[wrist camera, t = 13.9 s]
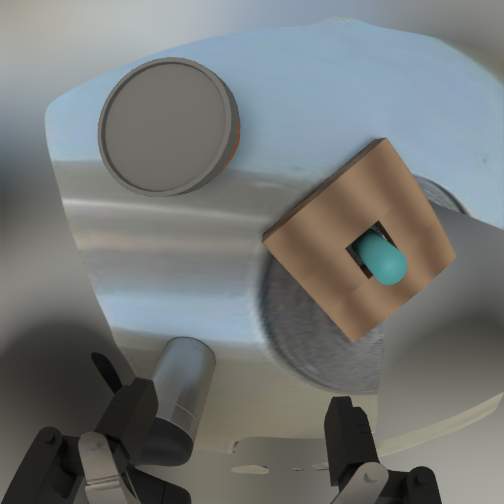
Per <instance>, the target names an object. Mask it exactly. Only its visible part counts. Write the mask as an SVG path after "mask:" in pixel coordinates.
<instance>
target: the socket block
mask: <svg viewBox="0 0 504 504" xmlns="http://www.w3.org/2000/svg"><path fill="white" fill-rule="evenodd" d="M375 223H376V225H377V226H378V227H379V229H380V230H381V232H382V233H383V235H384V236H385V238H386V239H387V241H388V242H389V243H390V244H392V245H393V246H394V247H395V248H396V249H398V250H399V251H400V252H401V253H402V254H403V255H404V256H405V257H406V260H407V270H406V273H405V275H404V277H403V278H402V279H401V280H400V281H399V282H397V283H395V284H393V285H384V284H381V283H380V282H379V281H378V280H377V279H376V277H375V276H374V275H373V274H372V272H371V271H370V270H369V268H368V267H367V266H366V265H365V264H364V265H363V266H362V267H361V268H360V267H359V266H358V265H357V263H356V262H355V261H354V259H353V258H352V257H351V255H350V254H349V253H348V252H347V250H346V249H345V248H346V247H347V246H348V245H350V244H351V243H352V242H353V241H355V240H356V239H357V238H358V237H359V236H360V235H362V234H363V233H364V232H365V231H366V230H368V229H369V228H370V227H371V226H372V225H373V224H375ZM262 244H263V245H264V246H265V247H266V248H267V249H268V250H269V251H270V252H271V253H272V254H273V255H274V256H275V258H276V259H277V260H278V261H279V262H280V263H281V264H282V265H283V266H284V267H285V268H286V269H287V271H288V272H289V273H290V274H291V275H292V276H293V277H294V278H295V279H296V280H297V281H298V283H299V284H300V285H301V286H302V287H303V288H304V289H305V290H306V291H307V292H308V293H309V295H310V296H311V297H312V298H313V299H314V300H315V301H316V302H317V303H318V304H319V306H320V307H321V308H322V309H323V310H324V311H325V312H326V313H327V314H328V315H329V317H330V318H331V319H332V320H333V321H334V322H335V323H336V324H337V325H338V327H339V328H340V329H341V330H342V331H343V332H344V333H345V334H346V335H347V337H348V338H349V339H350V340H351V341H352V342H354V341H356V340H357V339H359V338H360V337H362V336H363V335H364V334H366V333H367V332H369V331H370V330H371V329H373V328H374V327H375V326H377V325H378V324H379V323H381V322H382V321H383V320H385V319H386V318H387V317H388V316H390V315H391V314H392V313H394V312H395V311H396V310H397V309H399V308H400V307H401V306H402V305H404V304H405V303H406V302H407V301H408V300H410V299H411V298H412V297H413V296H414V295H416V294H417V293H418V292H419V291H420V290H421V289H423V288H424V287H425V286H426V285H427V284H428V283H429V282H430V281H431V280H433V279H434V278H435V277H436V276H437V275H438V274H439V273H440V272H441V271H442V270H444V269H445V268H446V267H447V266H448V265H449V264H450V263H451V262H452V261H453V260H454V259H455V258H456V255H455V253H454V250H453V248H452V246H451V244H450V242H449V240H448V238H447V236H446V234H445V232H444V230H443V228H442V226H441V224H440V222H439V220H438V218H437V216H436V214H435V213H434V211H433V209H432V207H431V205H430V204H429V202H428V200H427V198H426V197H425V195H424V193H423V192H422V190H421V188H420V187H419V185H418V183H417V182H416V180H415V179H414V177H413V175H412V174H411V172H410V171H409V169H408V168H407V166H406V165H405V163H404V162H403V160H402V159H401V157H400V156H399V154H398V153H397V152H396V150H395V149H394V147H393V146H392V145H391V143H390V142H389V140H388V139H387V138H380V139H375V140H374V141H372V142H371V143H370V144H369V145H368V146H366V147H365V148H364V149H363V150H362V151H361V152H359V153H358V154H357V155H356V156H355V157H353V158H352V159H351V160H350V161H349V162H348V163H346V164H345V165H344V166H343V167H342V168H340V169H339V170H338V171H337V172H336V173H335V174H333V175H332V176H331V177H330V178H329V179H327V180H326V181H325V182H324V183H323V184H322V185H320V186H319V187H318V188H317V189H316V190H314V191H313V192H312V193H311V194H310V195H309V196H307V197H306V198H305V199H304V200H303V201H302V202H300V203H299V204H298V205H297V206H296V207H294V208H293V209H292V210H291V211H290V212H289V213H287V214H286V215H285V216H284V217H283V218H282V219H280V220H279V221H278V222H277V223H276V224H275V225H273V226H272V227H271V228H270V229H269V230H268V231H266V232H265V233H264V234H263V240H262Z"/></svg>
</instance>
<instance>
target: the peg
mask: <svg viewBox="0 0 504 504" xmlns="http://www.w3.org/2000/svg"><path fill="white" fill-rule="evenodd" d="M351 245H352V248H353V250H354V251H355V252H356V253H357V255H358V256H359V257H360V258H361V260H362V261H363V262H364V263H365V265H366V266H367V267H368V268H369V270H370V271H371V272H372V274H373V275H374V276H375V277H376V279H377V280H378V281H379V282H380V283H381V284H384V285H393V284H395V283H397V282H399V281H400V280H401V279H402V278H403V277H404V275H405V273H406V270H407V260H406V257H405V256H404V255H403V254H402V253H401V252H400V251H399V250H398V249H396V248H395V247H394V246H393V245H392V244H390V243H389V242H388V241H386V240H385V239H384V238H383V237H382V236H380V235H379V234H378V233H377V232H375V231H374V230H373V229H371V228H369V229H368V230H366V231H365V232H364V233H363V234H362V235H360V236H359V237H358V238H357V239H356V240H355V241H353V242H352V243H351Z"/></svg>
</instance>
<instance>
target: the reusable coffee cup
mask: <svg viewBox="0 0 504 504" xmlns="http://www.w3.org/2000/svg"><path fill="white" fill-rule="evenodd" d="M239 138H240V118H239V112H238V107H237V104H236V101H235V99H234V96H233V94H232V92H231V91H230V89H229V88H228V86H227V85H226V84H225V82H224V81H222V80H221V79H220V78H219V77H218V76H217V75H216V74H214V73H213V72H212V71H210V70H209V69H208V68H206V67H204V66H203V65H201V64H199V63H197V62H195V61H192V60H188V59H184V58H175V57H167V58H160V59H155V60H152V61H149V62H147V63H144V64H142V65H140V66H138V67H137V68H135V69H133V70H132V71H130V72H129V73H128V74H127V75H125V76H124V77H123V78H122V79H121V80H120V81H119V82H118V83H117V85H116V86H115V87H114V88H113V89H112V91H111V93H110V94H109V96H108V97H107V99H106V101H105V103H104V106H103V108H102V111H101V114H100V119H99V124H98V145H99V151H100V154H101V157H102V160H103V163H104V164H105V166H106V168H107V170H108V172H109V173H110V174H111V175H112V177H113V178H114V179H115V180H116V181H117V182H118V183H119V184H121V185H122V186H123V187H125V188H126V189H128V190H130V191H132V192H134V193H137V194H140V195H144V196H149V197H166V196H175V195H180V194H186V193H189V192H191V191H194V190H196V189H199V188H200V187H202V186H203V185H205V184H207V183H208V182H210V181H211V180H212V179H213V178H214V177H215V176H217V175H218V174H219V173H220V172H221V171H222V170H223V169H224V168H225V167H226V165H227V164H228V162H229V161H230V160H231V158H232V157H233V155H234V153H235V151H236V149H237V146H238V142H239Z"/></svg>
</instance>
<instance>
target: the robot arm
mask: <svg viewBox="0 0 504 504" xmlns="http://www.w3.org/2000/svg"><path fill="white" fill-rule="evenodd" d="M215 364H216V362H215V357H214V354H213V353H212V351H211V350H210V349H209V348H208V347H207V346H206V345H204V344H203V343H201V342H199V341H198V340H195V339H192V338H186V337H180V338H175V339H173V340H171V341H170V342H169V343H168V344H167V345H166V347H165V349H164V351H163V353H162V355H161V356H160V358H159V360H158V362H157V364H156V366H155V368H154V370H153V372H152V374H151V375H150V377H149V379H145V378H141V377H136V378H135V379H134V381H133V382H132V384H131V386H128V385H124V386H123V387H122V388H121V389H119V390H118V391H117V392H116V394H115V396H114V397H113V400H112V401H111V402H110V404H109V407H108V408H107V409H106V411H105V413H104V415H103V417H102V418H101V420H100V422H99V423H98V425H97V427H96V429H95V430H94V431H93V432H90V433H86V434H84V435H83V436H82V437H72V436H65V435H62V434H61V432H60V431H59V430H58V429H56V428H54V427H45V428H43V429H41V430H40V431H39V433H38V434H37V436H36V438H35V439H34V441H33V443H32V444H31V446H30V448H29V450H28V452H27V453H26V455H25V457H24V459H23V461H22V463H21V464H20V466H19V468H18V470H17V472H16V474H15V476H14V478H13V480H12V482H11V484H10V486H9V488H8V490H7V492H6V494H5V496H4V498H3V500H2V503H1V504H73V502H74V499H75V496H76V494H77V491H78V489H79V486H80V484H81V481H82V479H83V476H85V477H86V480H87V485H86V486H85V490H86V494H87V498H88V504H191V497H190V494H189V493H188V491H187V490H185V489H183V488H182V487H179V486H177V485H174V484H171V483H169V482H166V481H163V480H161V479H159V478H156V477H154V476H152V475H149V474H147V473H144V472H142V471H140V470H137V469H136V468H135V466H139V465H159V466H179V465H182V464H185V463H186V462H187V461H188V460H189V459H190V456H191V453H192V450H193V446H194V442H195V438H196V435H197V431H198V427H199V423H200V420H201V416H202V412H203V408H204V405H205V401H206V397H207V394H208V390H209V386H210V383H211V379H212V376H213V372H214V368H215ZM324 430H325V438H326V446H327V453H328V463H329V472H330V481H331V486H339V493H338V494H337V496H336V497H335V498H334V500H333V501H332V502H331V503H330V504H442V502H441V498H440V494H439V489H438V486H437V482H436V478H435V474H434V473H433V471H432V470H431V469H429V468H427V467H424V466H420V467H416V468H414V469H412V470H411V471H410V472H400V471H391V470H388V469H386V467H385V466H383V465H382V464H380V462H379V460H378V456H377V452H376V448H375V444H374V440H373V437H372V433H371V429H370V426H369V422H368V418H367V415H366V413H365V412H364V411H363V410H362V409H361V407H353V405H352V401H351V398H350V397H349V396H342V397H333V398H332V399H331V402H330V405H329V408H328V411H327V413H326V416H325V421H324Z"/></svg>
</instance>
